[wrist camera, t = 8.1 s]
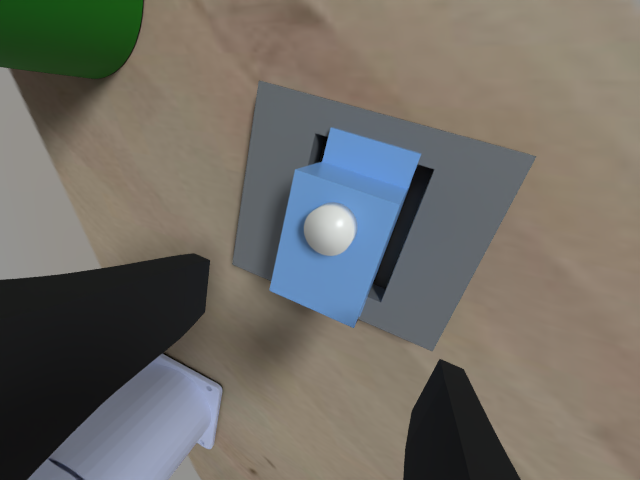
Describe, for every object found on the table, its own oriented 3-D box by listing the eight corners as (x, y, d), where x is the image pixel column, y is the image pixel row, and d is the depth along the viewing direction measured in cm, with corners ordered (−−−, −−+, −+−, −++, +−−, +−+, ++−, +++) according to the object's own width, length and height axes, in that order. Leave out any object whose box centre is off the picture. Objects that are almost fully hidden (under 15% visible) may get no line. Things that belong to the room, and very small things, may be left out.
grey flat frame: (246, 255, 20) (232, 264, 18) (274, 84, 16) (258, 80, 14) (433, 333, 17) (432, 351, 16) (526, 153, 13) (536, 156, 12)
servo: (304, 272, 19) (254, 326, 14) (342, 127, 15) (294, 127, 10) (367, 298, 18) (338, 367, 13) (423, 150, 14) (414, 164, 9)
